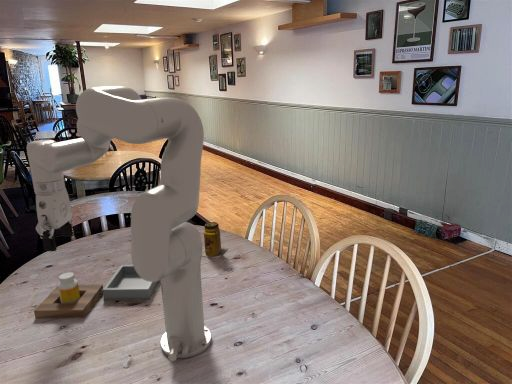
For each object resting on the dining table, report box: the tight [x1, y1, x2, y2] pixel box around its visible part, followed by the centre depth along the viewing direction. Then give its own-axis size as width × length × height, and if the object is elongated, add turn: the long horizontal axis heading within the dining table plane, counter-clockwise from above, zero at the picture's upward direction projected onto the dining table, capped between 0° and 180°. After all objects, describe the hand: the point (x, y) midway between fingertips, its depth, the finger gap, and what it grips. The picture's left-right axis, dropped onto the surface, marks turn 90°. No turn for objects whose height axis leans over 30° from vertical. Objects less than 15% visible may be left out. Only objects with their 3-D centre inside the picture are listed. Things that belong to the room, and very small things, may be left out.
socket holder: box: [33, 283, 104, 319], centre depth 116 cm, size 14×14×2 cm
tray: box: [102, 264, 160, 301], centre depth 126 cm, size 16×14×4 cm
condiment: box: [201, 221, 228, 259], centre depth 147 cm, size 7×8×12 cm
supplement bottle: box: [57, 271, 80, 303], centre depth 115 cm, size 5×5×10 cm
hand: (59, 243), depth 111 cm, fingers open, 9 cm apart
